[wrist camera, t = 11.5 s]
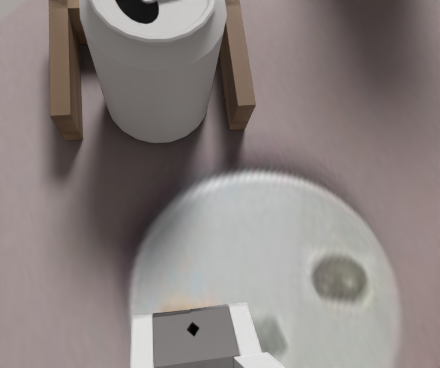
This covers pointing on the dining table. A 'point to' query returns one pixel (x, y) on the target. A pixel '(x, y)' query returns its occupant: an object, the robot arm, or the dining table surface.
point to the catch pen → (74, 36)
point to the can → (155, 61)
